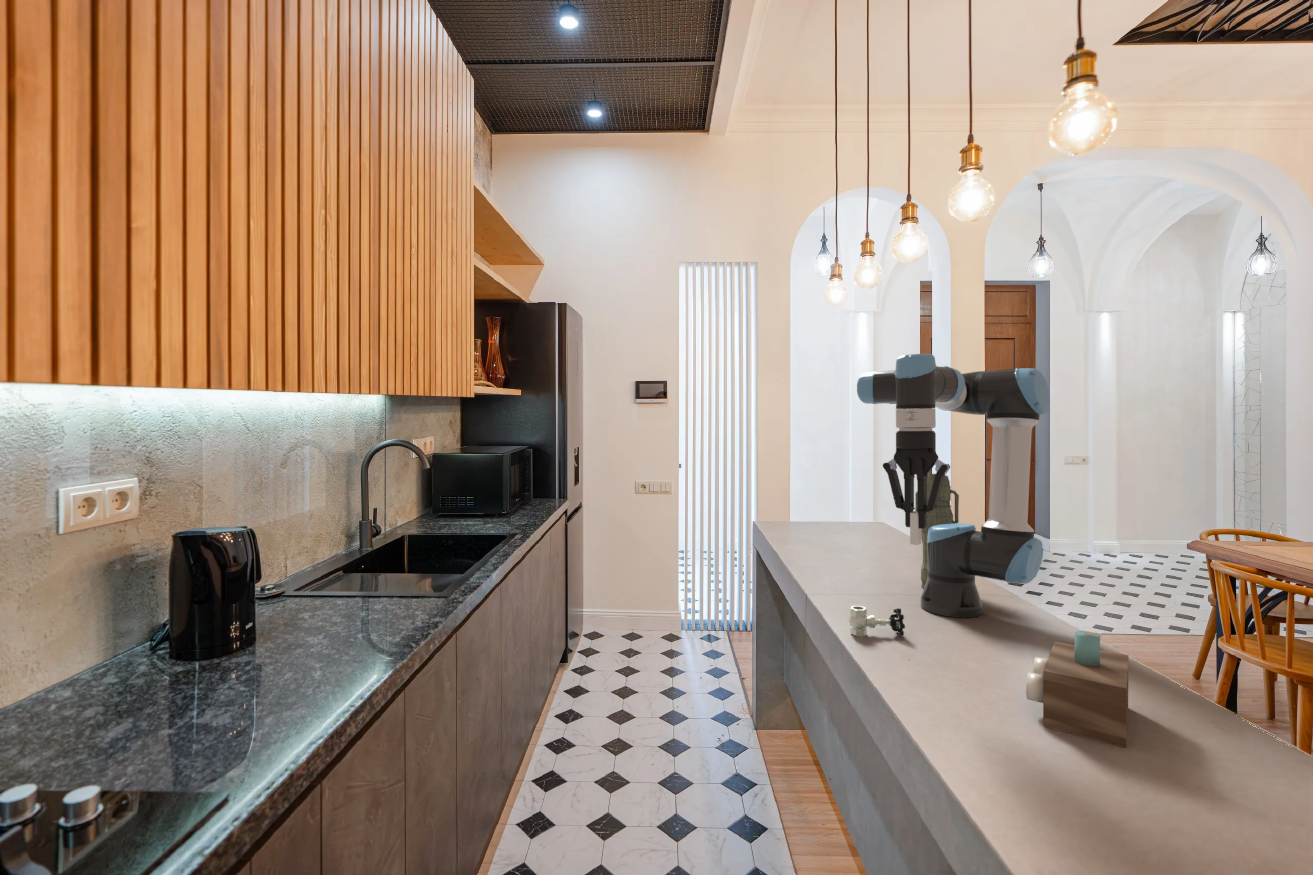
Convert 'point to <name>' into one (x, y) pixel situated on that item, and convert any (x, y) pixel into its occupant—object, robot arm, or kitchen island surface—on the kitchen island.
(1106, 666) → the mount
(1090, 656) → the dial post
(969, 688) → the kitchen island surface
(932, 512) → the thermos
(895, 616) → the valve
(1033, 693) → the knob
